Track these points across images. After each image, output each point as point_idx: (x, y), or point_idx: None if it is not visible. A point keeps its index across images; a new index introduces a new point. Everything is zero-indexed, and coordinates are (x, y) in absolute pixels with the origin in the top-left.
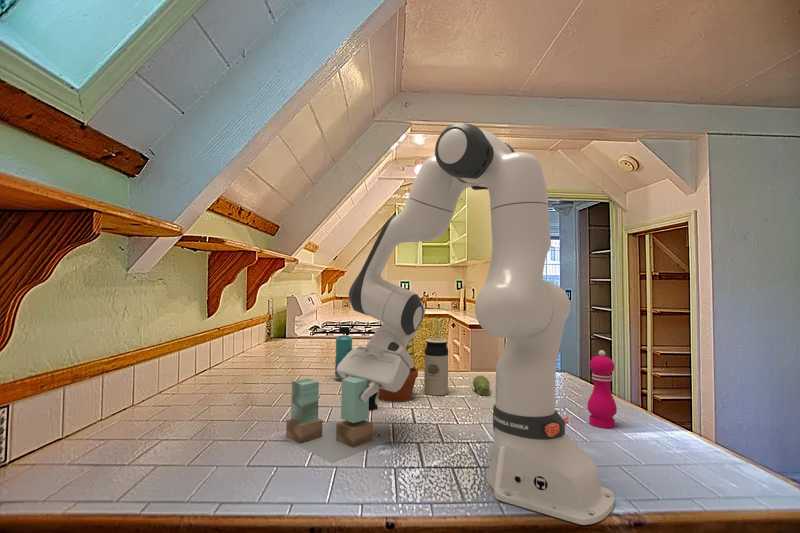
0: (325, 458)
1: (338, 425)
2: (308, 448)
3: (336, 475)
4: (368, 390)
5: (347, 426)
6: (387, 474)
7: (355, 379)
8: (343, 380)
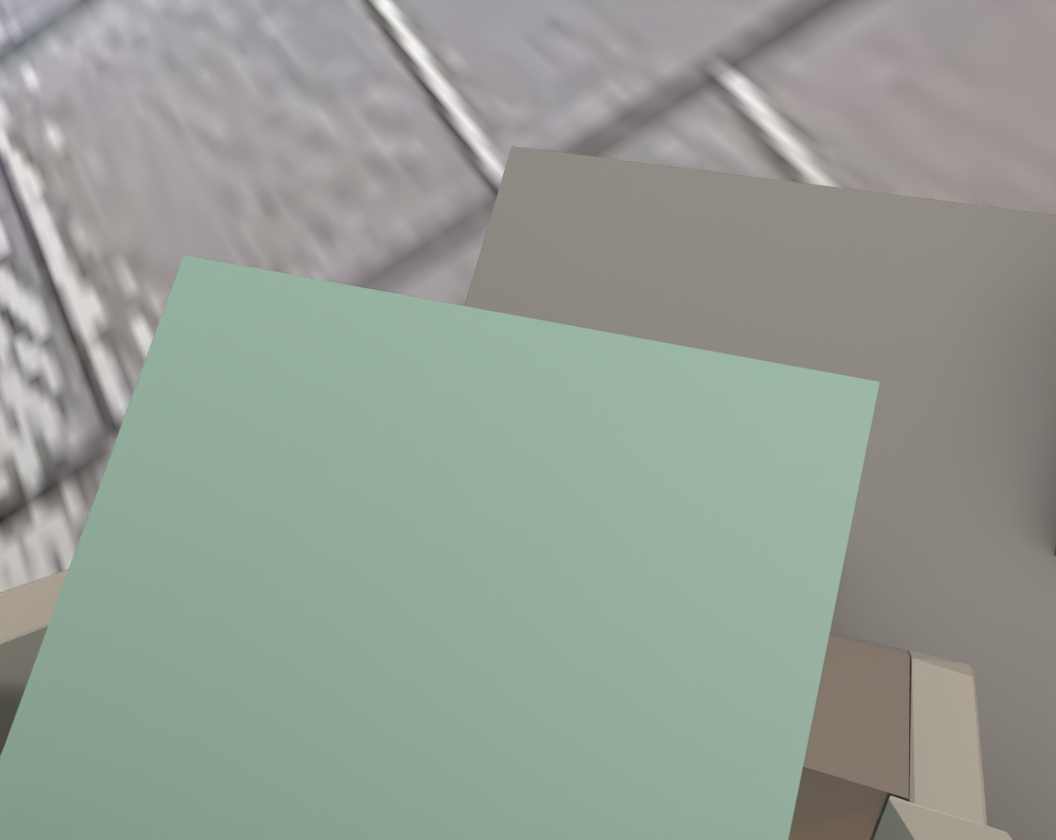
0: (613, 168)
1: None
2: (914, 226)
3: (422, 104)
4: (31, 594)
5: None
6: (123, 316)
7: (389, 693)
8: (761, 365)
